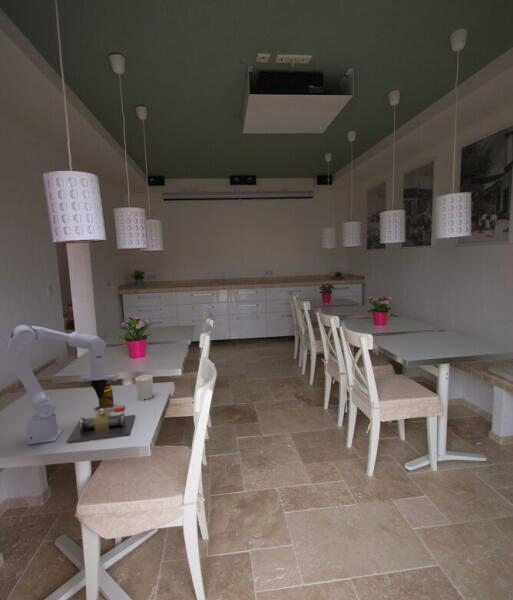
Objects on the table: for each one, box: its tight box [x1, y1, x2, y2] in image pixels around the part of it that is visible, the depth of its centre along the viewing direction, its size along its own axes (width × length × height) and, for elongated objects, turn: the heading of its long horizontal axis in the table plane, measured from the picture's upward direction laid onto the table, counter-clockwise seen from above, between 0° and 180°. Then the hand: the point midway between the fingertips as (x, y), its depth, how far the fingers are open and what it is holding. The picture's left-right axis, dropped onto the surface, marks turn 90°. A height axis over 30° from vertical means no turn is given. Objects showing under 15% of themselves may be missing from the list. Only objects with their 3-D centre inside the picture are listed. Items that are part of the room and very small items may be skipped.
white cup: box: [134, 374, 154, 401], centre depth 168 cm, size 8×8×10 cm
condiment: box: [93, 380, 115, 415], centre depth 157 cm, size 7×8×12 cm
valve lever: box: [98, 404, 126, 414], centre depth 138 cm, size 10×2×2 cm, turn 100°
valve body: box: [66, 412, 136, 444], centre depth 138 cm, size 22×16×7 cm
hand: (100, 397), depth 145 cm, fingers closed
